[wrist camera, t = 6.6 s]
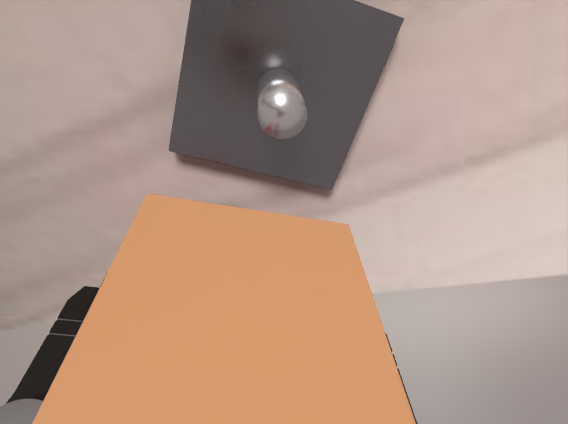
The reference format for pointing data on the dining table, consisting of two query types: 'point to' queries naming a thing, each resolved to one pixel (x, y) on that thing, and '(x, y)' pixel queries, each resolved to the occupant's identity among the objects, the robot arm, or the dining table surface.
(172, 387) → the orange block
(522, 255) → the dining table surface
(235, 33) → the stub plate
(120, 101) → the dining table surface
